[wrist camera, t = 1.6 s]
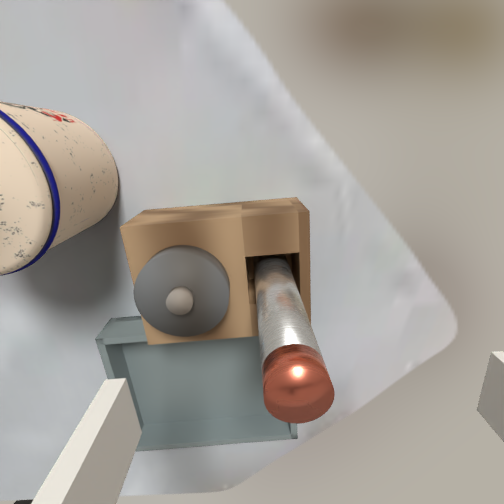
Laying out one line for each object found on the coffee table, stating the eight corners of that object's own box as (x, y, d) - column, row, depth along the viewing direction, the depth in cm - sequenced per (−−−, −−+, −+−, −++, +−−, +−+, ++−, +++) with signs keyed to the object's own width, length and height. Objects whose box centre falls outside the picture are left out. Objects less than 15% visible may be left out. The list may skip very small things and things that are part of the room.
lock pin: (254, 273, 25) (266, 426, 11) (251, 243, 24) (261, 372, 10) (285, 270, 24) (333, 420, 11) (284, 241, 24) (334, 366, 10)
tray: (141, 423, 31) (130, 451, 29) (110, 318, 27) (95, 339, 24) (292, 411, 31) (297, 438, 28) (288, 303, 27) (293, 322, 24)
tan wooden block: (165, 308, 27) (137, 367, 20) (144, 210, 23) (103, 238, 17) (299, 297, 27) (318, 352, 20) (296, 197, 23) (317, 220, 17)
